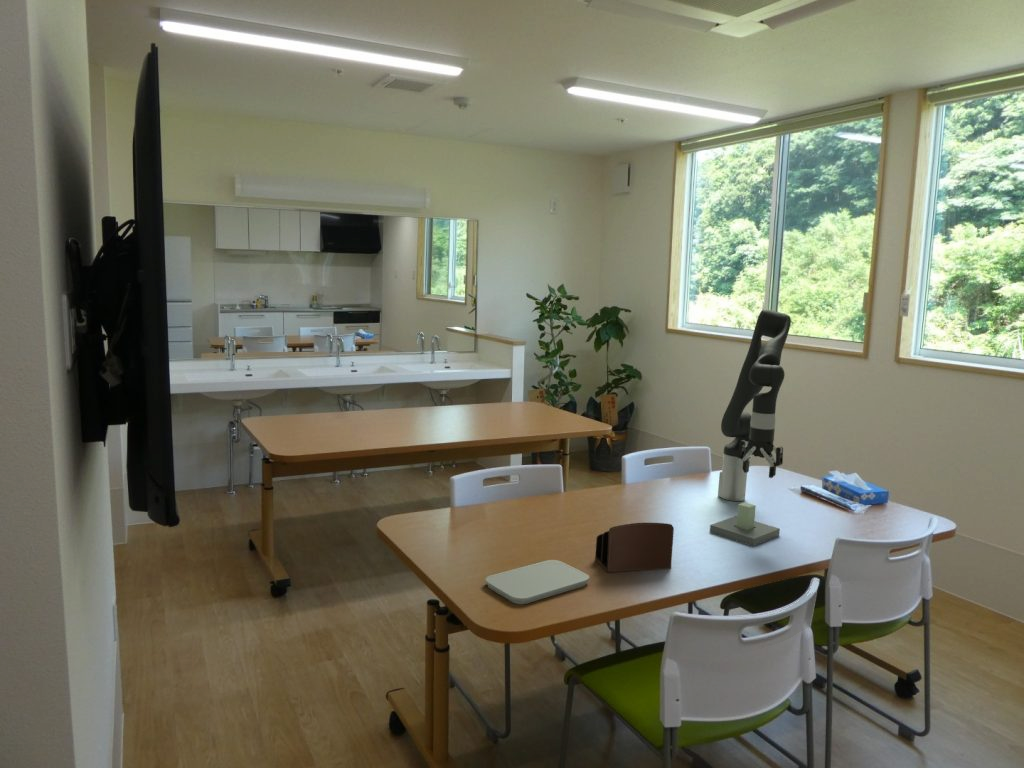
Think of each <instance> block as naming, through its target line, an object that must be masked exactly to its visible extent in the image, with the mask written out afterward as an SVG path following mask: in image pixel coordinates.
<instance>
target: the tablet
mask: <svg viewBox="0 0 1024 768" xmlns="http://www.w3.org/2000/svg"><path fill="white" fill-rule="evenodd" d="M589 581H590V575H589V574H587V573H585V571H582V570H579V569H577V568H575V567H573V566H571V565H569V564H567V563H565V562H563V561H561V560H558V559H557V560H556V559H547V560H543V561H540V562H537V563H532V564H528V565H525V566H521V567H517V568H514V569H509V570H506V571H502V572H499V573H494V574H491V575H488V576H487V577H485V583H486V585H487V587H488V589H490V590H492V591H493V592H495V593H496V594H498V595H499V596H501V597H503V598H505V599H507V600H508V601H510V602H511V603H512V604H516V605H526V604H530V603H533V602H536V601H539V600H542V599H545V598H549V597H553V596H556V595H559V594H563V593H565V592H569V591H572V590H575V589H579V588H581V587H585V586H586V585H587V582H589Z"/></svg>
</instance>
